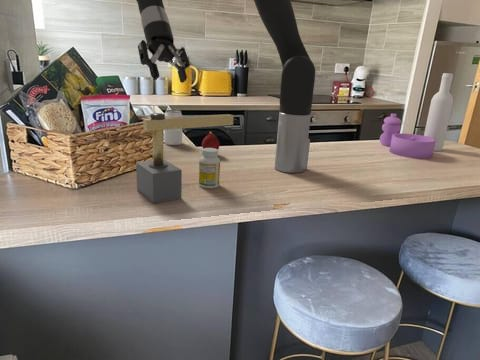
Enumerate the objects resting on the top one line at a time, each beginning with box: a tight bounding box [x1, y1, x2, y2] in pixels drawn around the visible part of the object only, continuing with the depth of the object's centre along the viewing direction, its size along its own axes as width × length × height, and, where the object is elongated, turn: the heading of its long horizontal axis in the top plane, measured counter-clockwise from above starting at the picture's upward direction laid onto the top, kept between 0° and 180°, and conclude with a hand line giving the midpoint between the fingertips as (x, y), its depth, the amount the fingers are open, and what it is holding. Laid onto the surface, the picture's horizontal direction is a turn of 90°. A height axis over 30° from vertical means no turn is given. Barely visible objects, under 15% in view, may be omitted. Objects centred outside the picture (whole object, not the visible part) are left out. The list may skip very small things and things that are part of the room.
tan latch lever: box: [142, 112, 234, 167], centre depth 92 cm, size 23×3×12 cm, turn 125°
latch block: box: [135, 159, 183, 204], centre depth 90 cm, size 7×10×7 cm
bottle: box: [423, 72, 454, 152], centre depth 152 cm, size 8×8×30 cm
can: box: [163, 109, 183, 146], centre depth 139 cm, size 6×6×12 cm
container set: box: [379, 113, 436, 160], centre depth 149 cm, size 25×15×13 cm, turn 16°
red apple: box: [201, 131, 221, 151], centre depth 127 cm, size 6×6×8 cm
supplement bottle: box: [198, 148, 221, 189], centre depth 98 cm, size 5×5×10 cm
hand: (170, 79), depth 104 cm, fingers open, 8 cm apart
